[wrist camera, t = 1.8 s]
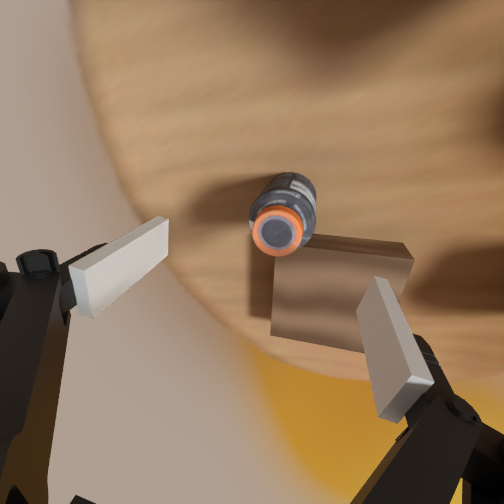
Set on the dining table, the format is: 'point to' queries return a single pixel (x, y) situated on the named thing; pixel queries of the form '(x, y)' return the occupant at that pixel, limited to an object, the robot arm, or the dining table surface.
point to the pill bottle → (284, 214)
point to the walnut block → (332, 287)
